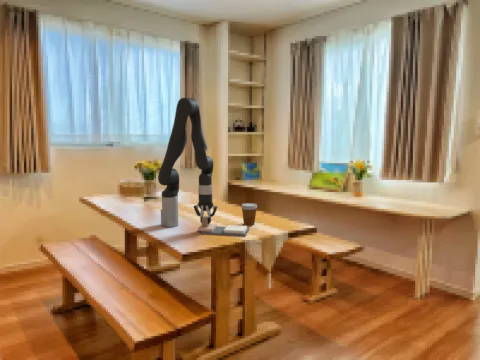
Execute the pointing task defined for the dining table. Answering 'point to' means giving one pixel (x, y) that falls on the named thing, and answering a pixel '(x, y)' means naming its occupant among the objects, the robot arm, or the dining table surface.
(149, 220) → the dining table surface
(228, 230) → the ticket base
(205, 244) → the dining table surface
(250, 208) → the disposable coffee cup
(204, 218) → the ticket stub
